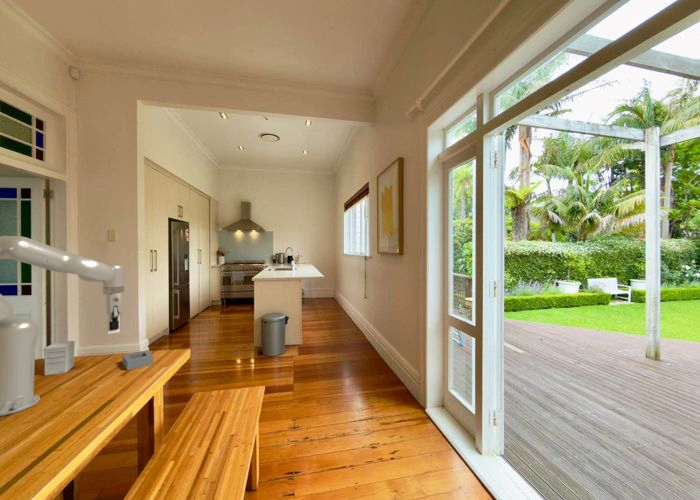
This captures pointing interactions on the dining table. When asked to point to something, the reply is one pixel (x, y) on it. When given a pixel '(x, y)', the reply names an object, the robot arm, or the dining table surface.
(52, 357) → the supplement box
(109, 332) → the peg
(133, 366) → the socket board
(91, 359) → the dining table surface
